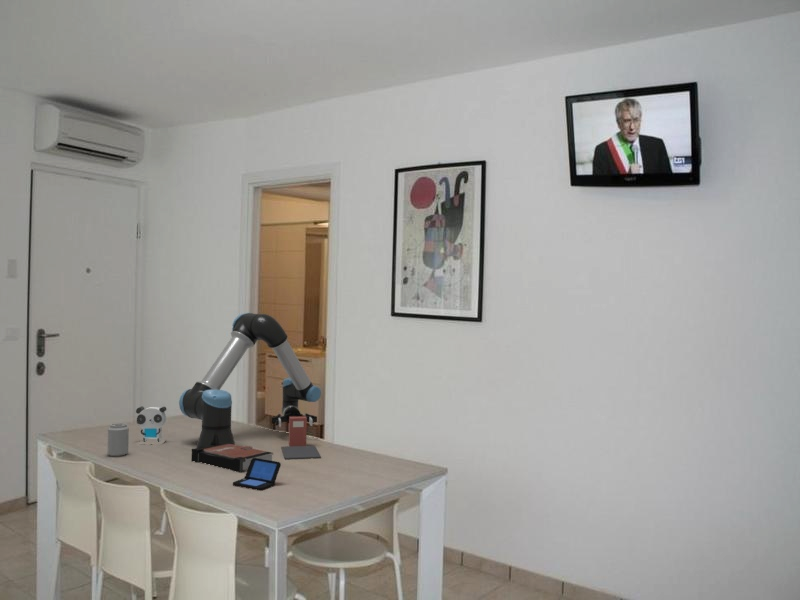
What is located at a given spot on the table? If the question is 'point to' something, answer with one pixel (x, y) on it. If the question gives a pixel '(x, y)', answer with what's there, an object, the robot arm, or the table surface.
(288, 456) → the mat
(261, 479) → the handheld game console
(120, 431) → the can
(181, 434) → the table surface
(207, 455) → the book
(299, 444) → the box
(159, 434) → the panda figurine
